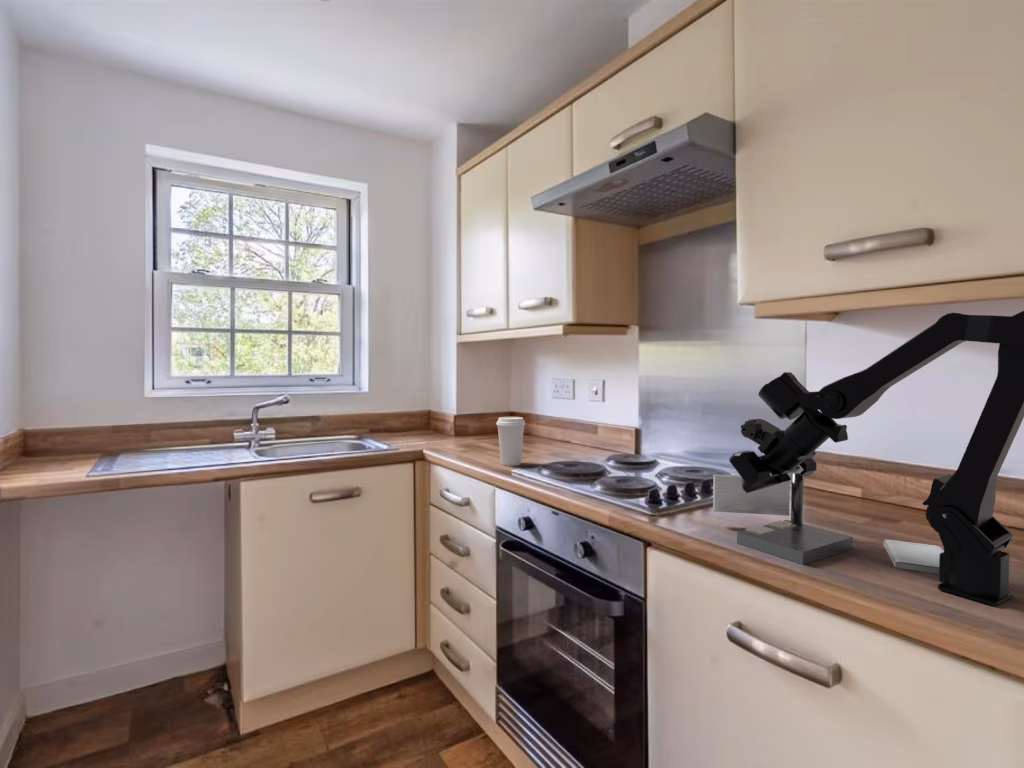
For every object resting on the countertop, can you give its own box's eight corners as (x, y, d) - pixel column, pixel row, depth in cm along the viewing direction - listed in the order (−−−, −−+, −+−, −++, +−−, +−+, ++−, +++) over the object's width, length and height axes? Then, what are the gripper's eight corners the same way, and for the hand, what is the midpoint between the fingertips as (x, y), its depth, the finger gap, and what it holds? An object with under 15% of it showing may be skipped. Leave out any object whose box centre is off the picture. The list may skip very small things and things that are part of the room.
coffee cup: (490, 463, 174) (490, 417, 174) (514, 460, 180) (514, 415, 179) (506, 467, 166) (506, 419, 166) (531, 464, 172) (531, 418, 171)
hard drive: (961, 570, 80) (941, 545, 91) (894, 561, 84) (883, 538, 95) (961, 581, 80) (941, 555, 91) (894, 571, 84) (883, 547, 95)
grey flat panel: (786, 512, 104) (786, 477, 104) (789, 515, 102) (789, 479, 102) (713, 508, 107) (713, 474, 107) (714, 511, 105) (715, 476, 105)
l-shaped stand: (860, 545, 94) (861, 483, 94) (802, 564, 85) (803, 496, 85) (794, 528, 104) (795, 472, 104) (736, 543, 95) (737, 482, 95)
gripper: (800, 403, 103) (749, 453, 113) (738, 407, 94) (688, 461, 103) (843, 448, 97) (785, 497, 106) (780, 457, 87) (724, 510, 97)
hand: (746, 490), depth 103 cm, fingers closed
